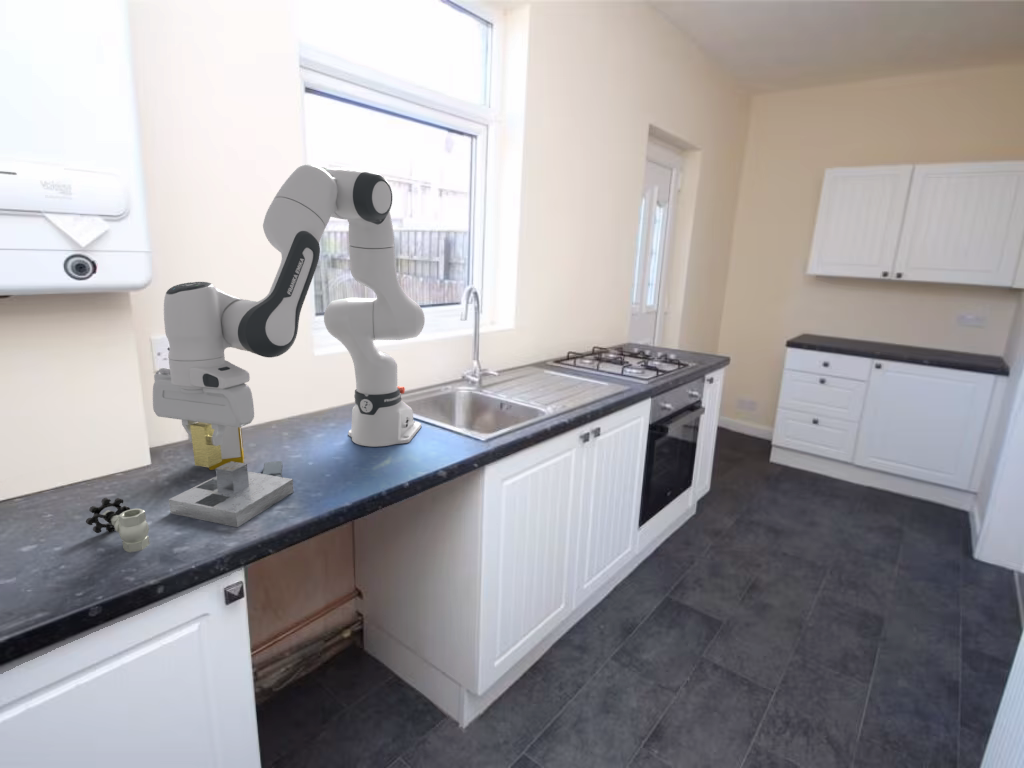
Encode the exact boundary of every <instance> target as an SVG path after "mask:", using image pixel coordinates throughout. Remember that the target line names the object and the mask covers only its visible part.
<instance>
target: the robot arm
mask: <svg viewBox="0 0 1024 768" xmlns="http://www.w3.org/2000/svg"><path fill="white" fill-rule="evenodd" d="M392 205H393V192H392V188H391V185H390V184H389V182H388V180H387V179H386V177H385V176H383V175H382V174H379V173H378V172H374V171H372V170H362V169H357V168H350V167H341V168H340V167H334V168H333V167H331V168H327V167H319V166H317V165H314V164H304V165H300V166H298V167H297V168H296V169H295V170H294V171H293V172H292V173H291V174H290V175H289V177H288V178H287V179H286V180H285V181H284V183H283V184H282V186H281V187H280V188H279V190H278V191H277V193H276V194H275V196H274V197H273V200H272V201H271V203H270V205H269V207H268V208H267V210H266V213H265V216H264V219H263V223H262V228H263V232H264V235H265V237H266V239H267V240H268V243H270V245H271V246H272V247H273V248H274V249H276V250H277V251H278V252H279V253H280V254H281V261H280V264H279V267H278V269H277V272H276V274H275V277H274V279H273V282H272V284H271V287H270V290H269V292H268V294H267V295H266V296H265V297H264V298H262V299H260V300H259V301H254V300H249V299H243V298H240V297H238V296H234V295H231V294H229V293H226V292H224V291H223V290H220V289H219V288H217V287H216V286H214V284H213V283H211V282H208V281H194V282H192V281H191V282H185V283H180V284H176V285H173V286H172V287H169V288H168V289H167V291H166V292H165V295H164V300H163V321H164V332H165V333H164V334H165V336H166V338H167V340H168V344H169V351H168V365H169V368H166V367H165V368H163V367H162V368H159V370H157V371H156V372H155V374H154V376H153V379H154V383H153V386H152V409H153V412H154V414H155V415H156V417H159V418H165V419H166V418H167V419H173V420H181V426H182V427H183V429H184V430H185V431H186V433H187V435H188V441H189V443H192V435H191V427H190V425H192V424H195V423H198V422H202V423H209V424H211V426H212V429H215V430H214V432H213V435H212V436H209V444H210V445H214V446H218V445H221V444H222V443H223V439H222V435H223V433H224V431H225V429H226V427H227V426H231V427H241V428H242V427H244V426H248V425H250V424H252V422H253V420H254V418H255V408H254V398H253V393H252V391H251V387H249V385H248V384H247V383H248V382H250V379H251V377H250V372H249V371H248V370H246V369H244V368H242V367H240V366H238V365H235V364H233V363H231V362H230V361H229V360H227V359H225V357H226V356H225V350H226V349H227V348H232V349H236V350H241V351H245V352H250V353H252V354H254V355H258V356H261V357H264V358H277V357H280V356H282V355H283V354H285V353H286V352H288V351H289V350H290V349H291V347H292V346H293V345H294V342H295V340H296V339H297V336H298V332H299V323H300V322H299V321H300V316H301V312H302V308H303V306H304V302H305V300H306V297H307V294H308V292H309V289H310V286H311V283H312V281H313V278H314V275H315V273H316V269H317V266H318V264H319V260H320V256H321V246H320V240H321V238H322V236H323V234H324V232H325V229H326V228H327V226H328V223H329V221H330V219H331V218H334V219H335V218H336V219H340V220H346V221H347V222H348V250H349V254H348V255H349V265H350V268H349V269H350V274H351V276H352V277H353V279H354V280H355V281H356V282H358V283H359V284H360V285H363V286H364V287H367V288H369V289H370V290H371V291H372V292H374V294H375V296H376V297H374V298H373V297H372V298H371V297H347V298H340V299H334V300H331V301H330V302H329V303H328V305H327V306H326V308H325V310H324V314H323V323H324V325H325V328H326V330H327V332H328V333H329V334H330V336H332V337H334V338H335V339H337V341H339V342H340V343H341V345H343V346H344V347H345V349H346V350H347V352H348V353H349V355H350V357H351V359H352V363H353V367H354V374H355V388H356V389H355V390H354V403H355V405H354V406H353V407H352V411H351V413H352V414H351V427H350V429H349V430H348V432H347V433H348V436H349V437H351V441H352V442H353V443H355V444H356V445H359V446H363V447H364V446H365V447H376V448H377V447H386V446H393V445H399V444H408V443H410V442H411V441H412V439H413V438H414V437H415V435H416V434H417V433H418V431H420V430H421V428H422V423H421V422H419V421H416V420H414V410H413V409H412V407H411V406H409V405H408V404H407V403H406V402H404V401H403V400H402V394H405V392H406V388H405V386H399V384H398V383H399V382H398V380H399V379H398V363H397V361H396V359H395V358H394V357H393V356H391V355H390V354H388V353H386V352H384V351H382V350H380V349H379V348H377V347H376V345H375V343H374V341H376V340H378V341H381V340H382V341H401V340H408V339H413V338H417V337H418V336H419V335H420V334H421V332H422V330H423V329H424V326H425V313H424V310H423V308H422V307H421V306H420V304H419V303H418V302H416V301H415V300H414V299H412V297H410V296H409V295H408V294H407V293H406V292H405V290H404V288H403V287H402V285H401V283H400V281H399V277H398V275H397V269H396V257H395V236H394V229H393V221H392V217H391V212H390V211H391V208H392Z"/></svg>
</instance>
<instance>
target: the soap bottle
mask: <svg viewBox="0 0 1024 768" xmlns="http://www.w3.org/2000/svg"><path fill="white" fill-rule="evenodd" d="M242 431H243V430H242V427H231V426H227V427H226V429H225V431H224V433H223V435H222V439H223V443H222V444H221V445H220V446H221V456H222V462H220V463H218V464H215V465H213V466H211V467H208V469H209V471H213V470H216V468H218V467H220V466H222V465H224V464H226V463H228V462H230V461H232V462H238V463H244V462H245V454H244V444H243V442H244V441H243V432H242ZM244 464H245V463H244Z"/></svg>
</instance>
